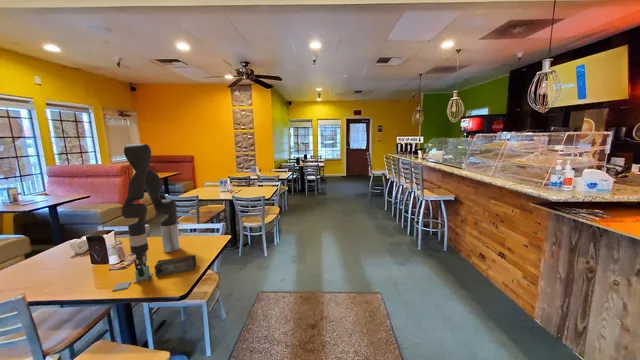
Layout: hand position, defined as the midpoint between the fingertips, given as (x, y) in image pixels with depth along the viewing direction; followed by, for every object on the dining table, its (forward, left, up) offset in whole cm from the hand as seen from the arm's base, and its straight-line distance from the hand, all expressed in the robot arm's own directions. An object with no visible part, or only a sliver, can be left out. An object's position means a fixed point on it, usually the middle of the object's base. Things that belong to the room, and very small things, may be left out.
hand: (142, 273), depth 139 cm
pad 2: (0, 0, -3) cm, 3 cm away
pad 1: (+5, -8, -3) cm, 10 cm away
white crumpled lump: (-57, -46, -3) cm, 73 cm away
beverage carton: (-3, +15, -3) cm, 16 cm away
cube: (0, 0, -2) cm, 2 cm away
